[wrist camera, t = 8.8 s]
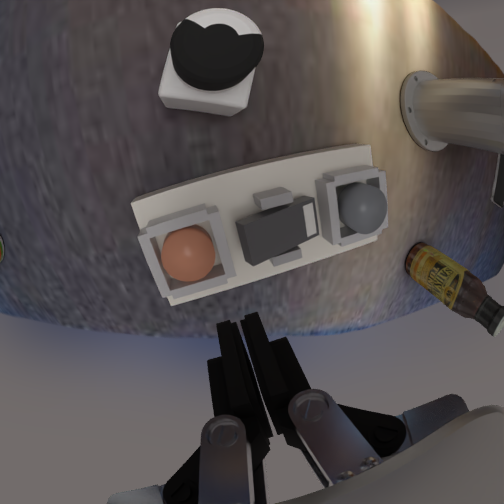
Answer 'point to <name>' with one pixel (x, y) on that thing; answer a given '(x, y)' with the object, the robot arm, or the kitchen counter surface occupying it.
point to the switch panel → (251, 202)
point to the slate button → (362, 207)
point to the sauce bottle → (454, 286)
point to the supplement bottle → (1, 249)
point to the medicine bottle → (211, 62)
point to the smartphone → (499, 183)
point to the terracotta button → (188, 253)
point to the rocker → (277, 229)
